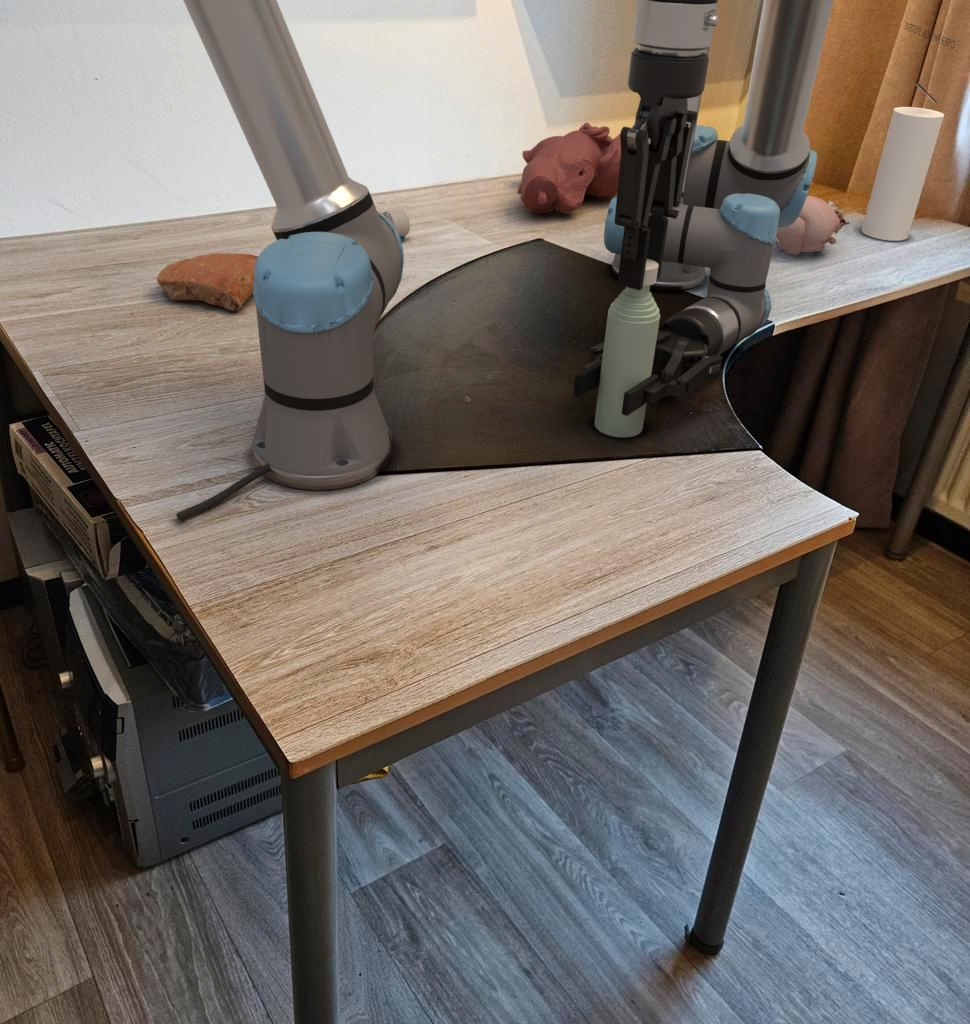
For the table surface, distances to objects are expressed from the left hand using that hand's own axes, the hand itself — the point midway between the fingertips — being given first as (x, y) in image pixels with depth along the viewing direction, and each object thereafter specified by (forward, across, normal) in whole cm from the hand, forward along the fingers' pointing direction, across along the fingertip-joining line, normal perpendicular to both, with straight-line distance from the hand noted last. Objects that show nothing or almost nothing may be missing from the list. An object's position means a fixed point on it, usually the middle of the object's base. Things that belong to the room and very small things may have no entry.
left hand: (638, 280), depth 106 cm
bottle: (+18, 0, 0) cm, 18 cm away
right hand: (+12, -5, 0) cm, 13 cm away
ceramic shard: (+18, -1, +69) cm, 71 cm away
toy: (+18, +80, +4) cm, 82 cm away
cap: (-2, 0, 0) cm, 2 cm away
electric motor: (+18, +35, +63) cm, 74 cm away
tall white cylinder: (+18, +100, -5) cm, 102 cm away
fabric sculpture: (+18, +76, +49) cm, 93 cm away
